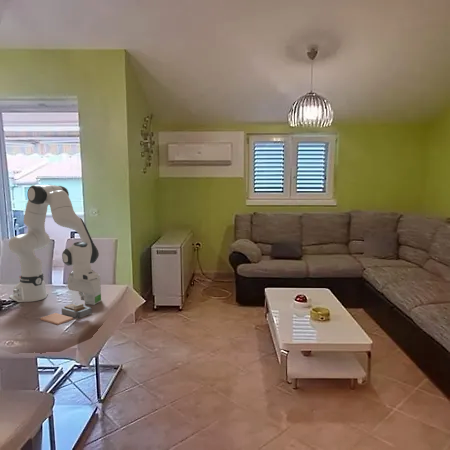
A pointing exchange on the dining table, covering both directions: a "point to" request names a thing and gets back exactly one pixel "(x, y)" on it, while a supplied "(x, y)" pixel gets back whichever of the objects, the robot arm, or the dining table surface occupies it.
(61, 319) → the rubber pad
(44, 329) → the dining table surface
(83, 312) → the frame
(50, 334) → the dining table surface
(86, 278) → the robot arm
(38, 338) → the dining table surface
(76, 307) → the walnut block
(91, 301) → the skincare box
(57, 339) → the dining table surface
